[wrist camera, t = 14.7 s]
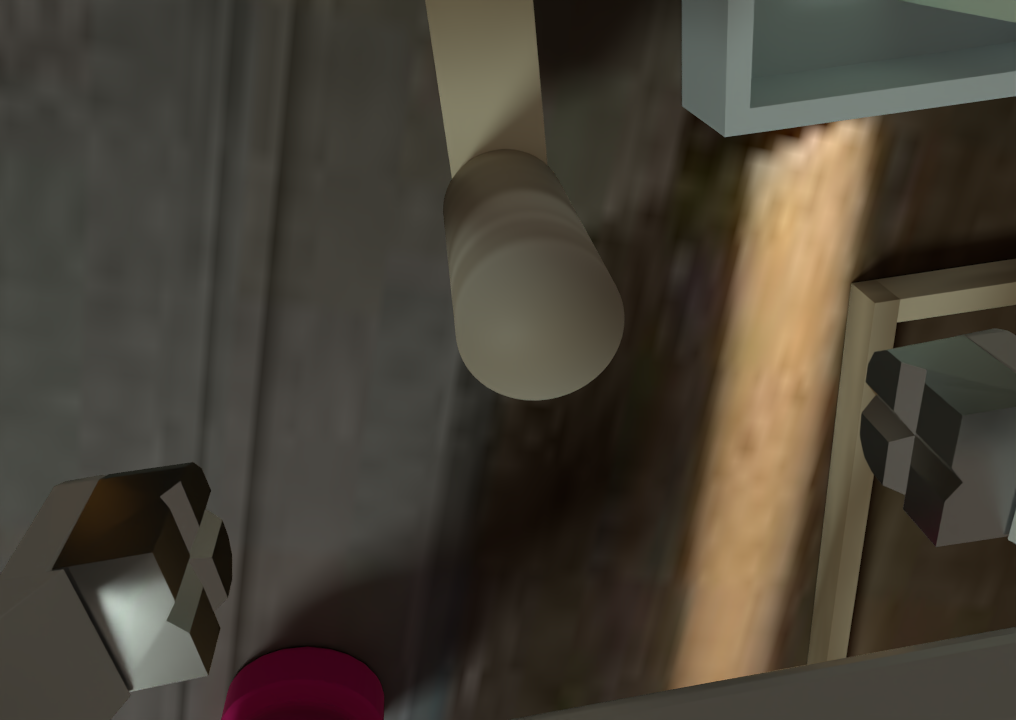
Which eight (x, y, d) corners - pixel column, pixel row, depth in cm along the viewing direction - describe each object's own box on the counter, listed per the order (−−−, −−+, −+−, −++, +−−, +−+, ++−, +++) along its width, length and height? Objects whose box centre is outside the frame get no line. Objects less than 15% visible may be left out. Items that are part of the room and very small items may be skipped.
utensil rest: (1196, 231, 26) (1237, 248, 25) (1041, 684, 37) (1063, 712, 36) (851, 283, 26) (874, 303, 24) (800, 724, 37) (814, 754, 36)
